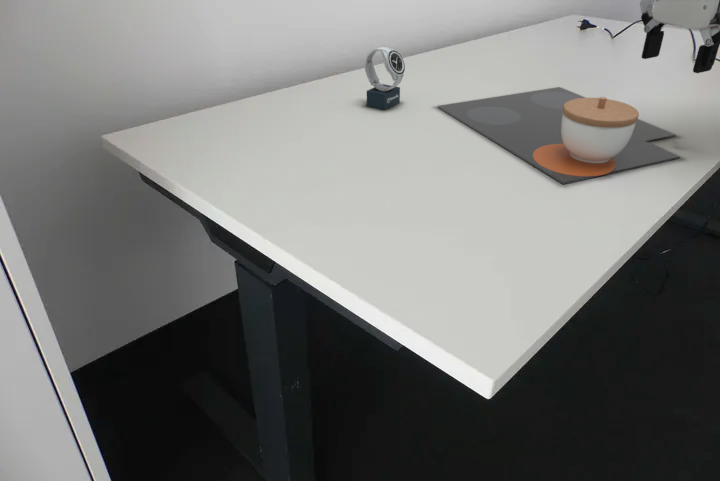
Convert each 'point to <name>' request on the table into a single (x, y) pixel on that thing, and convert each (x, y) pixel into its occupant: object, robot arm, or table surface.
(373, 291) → the table surface
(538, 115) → the hob
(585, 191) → the table surface
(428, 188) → the table surface
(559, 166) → the front ring
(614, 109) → the trinket box
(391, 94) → the watch
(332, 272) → the table surface
